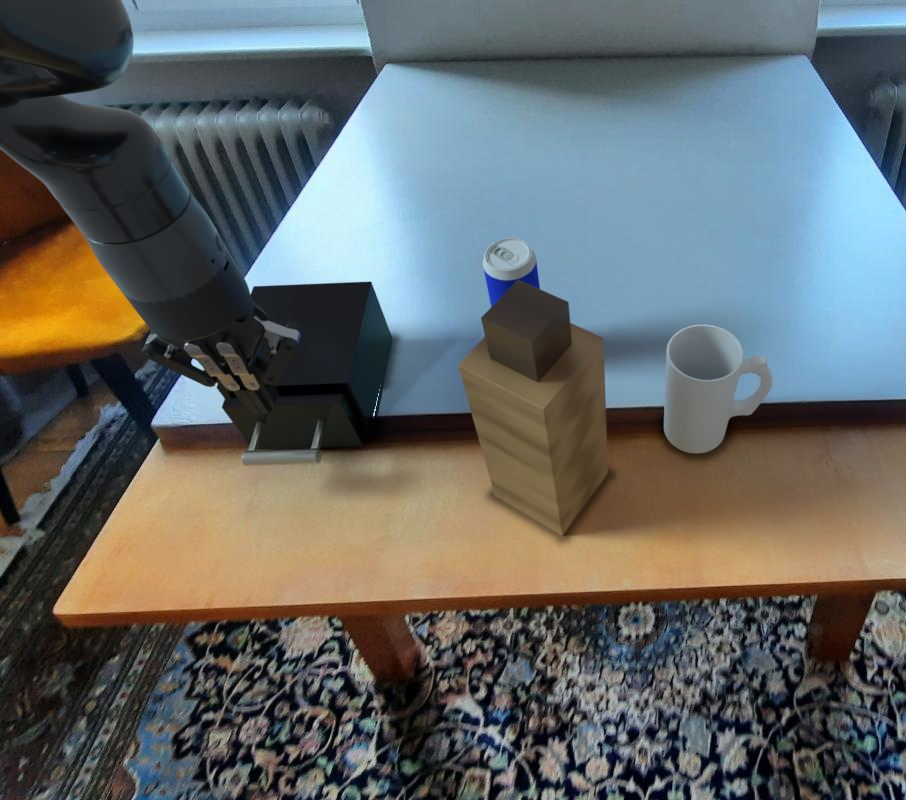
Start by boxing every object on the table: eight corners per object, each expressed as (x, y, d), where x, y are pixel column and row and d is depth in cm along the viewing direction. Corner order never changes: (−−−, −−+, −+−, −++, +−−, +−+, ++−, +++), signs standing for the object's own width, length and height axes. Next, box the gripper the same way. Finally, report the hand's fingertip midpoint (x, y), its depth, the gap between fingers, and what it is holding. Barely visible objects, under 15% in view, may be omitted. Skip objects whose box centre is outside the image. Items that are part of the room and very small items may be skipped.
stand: (562, 536, 68) (543, 409, 52) (494, 496, 71) (457, 364, 55) (608, 473, 72) (603, 337, 56) (542, 438, 75) (520, 299, 59)
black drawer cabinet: (374, 437, 76) (347, 382, 69) (254, 441, 76) (216, 387, 69) (393, 338, 84) (371, 281, 77) (285, 343, 85) (253, 286, 77)
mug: (662, 456, 73) (668, 382, 63) (659, 402, 77) (664, 324, 67) (764, 455, 72) (786, 380, 63) (756, 401, 76) (775, 322, 67)
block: (538, 383, 54) (532, 342, 50) (489, 358, 55) (480, 317, 52) (572, 343, 56) (568, 301, 52) (524, 321, 58) (518, 279, 54)
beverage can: (556, 349, 82) (545, 246, 70) (530, 380, 80) (514, 279, 68) (519, 332, 84) (502, 229, 72) (492, 362, 81) (470, 260, 69)
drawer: (355, 486, 72) (331, 445, 66) (240, 490, 72) (206, 449, 66) (382, 352, 82) (363, 306, 76) (281, 356, 82) (255, 311, 76)
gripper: (56, 302, 50) (180, 443, 63) (247, 294, 49) (330, 438, 63) (98, 229, 54) (205, 375, 68) (274, 221, 54) (346, 370, 68)
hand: (265, 405), depth 65 cm, fingers closed
